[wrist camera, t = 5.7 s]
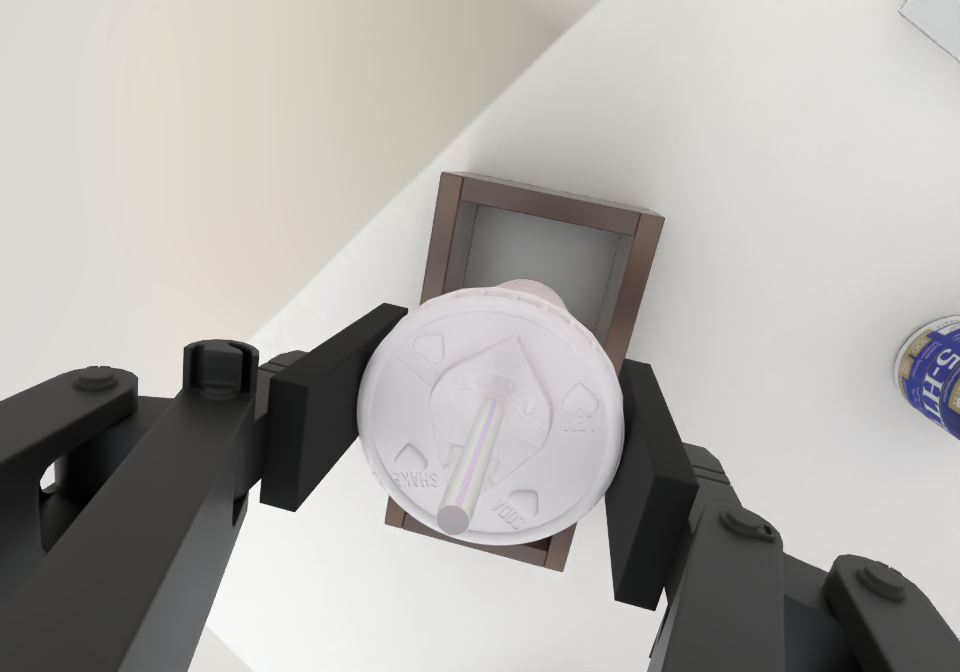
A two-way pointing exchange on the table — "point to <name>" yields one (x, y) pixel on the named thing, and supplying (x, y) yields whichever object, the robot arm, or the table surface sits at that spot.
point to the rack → (615, 315)
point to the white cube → (937, 21)
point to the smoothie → (492, 414)
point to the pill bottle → (933, 372)
